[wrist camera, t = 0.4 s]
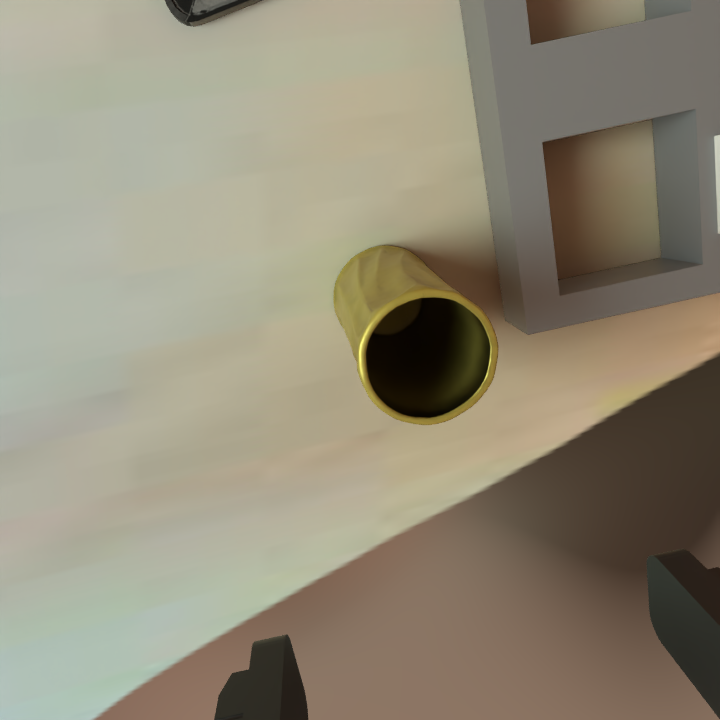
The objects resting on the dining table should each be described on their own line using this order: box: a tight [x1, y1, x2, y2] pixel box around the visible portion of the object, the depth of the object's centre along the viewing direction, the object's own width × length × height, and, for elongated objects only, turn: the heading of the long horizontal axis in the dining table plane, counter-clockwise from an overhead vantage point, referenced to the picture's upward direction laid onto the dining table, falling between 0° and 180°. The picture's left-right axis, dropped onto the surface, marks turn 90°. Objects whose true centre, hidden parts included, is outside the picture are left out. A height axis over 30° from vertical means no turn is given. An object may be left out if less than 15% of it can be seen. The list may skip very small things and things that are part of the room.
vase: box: [334, 245, 498, 425], centre depth 28 cm, size 6×6×14 cm
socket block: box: [460, 0, 720, 335], centre depth 31 cm, size 24×15×5 cm, turn 12°
